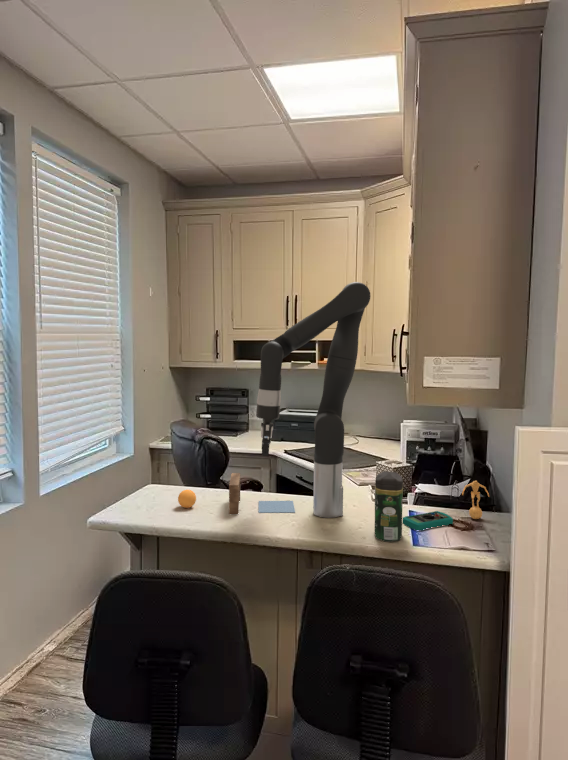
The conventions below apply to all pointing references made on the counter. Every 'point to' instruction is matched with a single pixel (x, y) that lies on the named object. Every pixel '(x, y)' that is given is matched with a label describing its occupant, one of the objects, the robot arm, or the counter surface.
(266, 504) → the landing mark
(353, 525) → the counter surface
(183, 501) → the ball
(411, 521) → the digital multimeter
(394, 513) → the coffee jar
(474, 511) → the figurine
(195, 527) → the counter surface
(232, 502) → the bridge
